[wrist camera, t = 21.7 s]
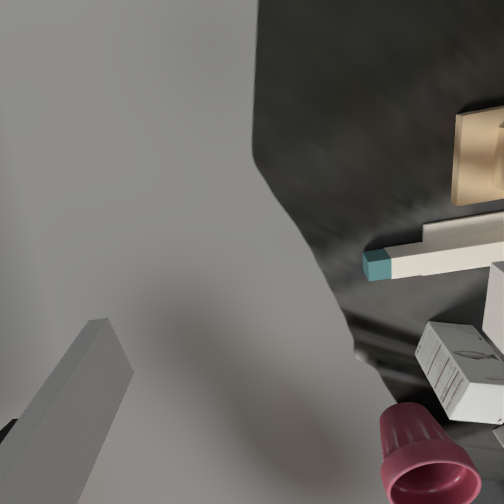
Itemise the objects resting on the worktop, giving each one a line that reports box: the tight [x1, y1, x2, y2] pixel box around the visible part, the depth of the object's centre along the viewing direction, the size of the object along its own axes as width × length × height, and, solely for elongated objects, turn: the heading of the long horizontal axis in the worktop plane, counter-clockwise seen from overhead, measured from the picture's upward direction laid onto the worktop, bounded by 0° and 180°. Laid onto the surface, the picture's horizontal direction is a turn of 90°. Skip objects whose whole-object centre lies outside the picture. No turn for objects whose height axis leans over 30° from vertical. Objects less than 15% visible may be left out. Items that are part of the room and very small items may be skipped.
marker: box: [362, 229, 504, 281], centre depth 47 cm, size 3×21×3 cm, turn 101°
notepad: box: [422, 211, 504, 276], centre depth 48 cm, size 8×15×1 cm, turn 101°
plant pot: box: [380, 402, 482, 504], centre depth 59 cm, size 14×14×13 cm
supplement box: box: [415, 321, 504, 424], centre depth 50 cm, size 7×7×13 cm
